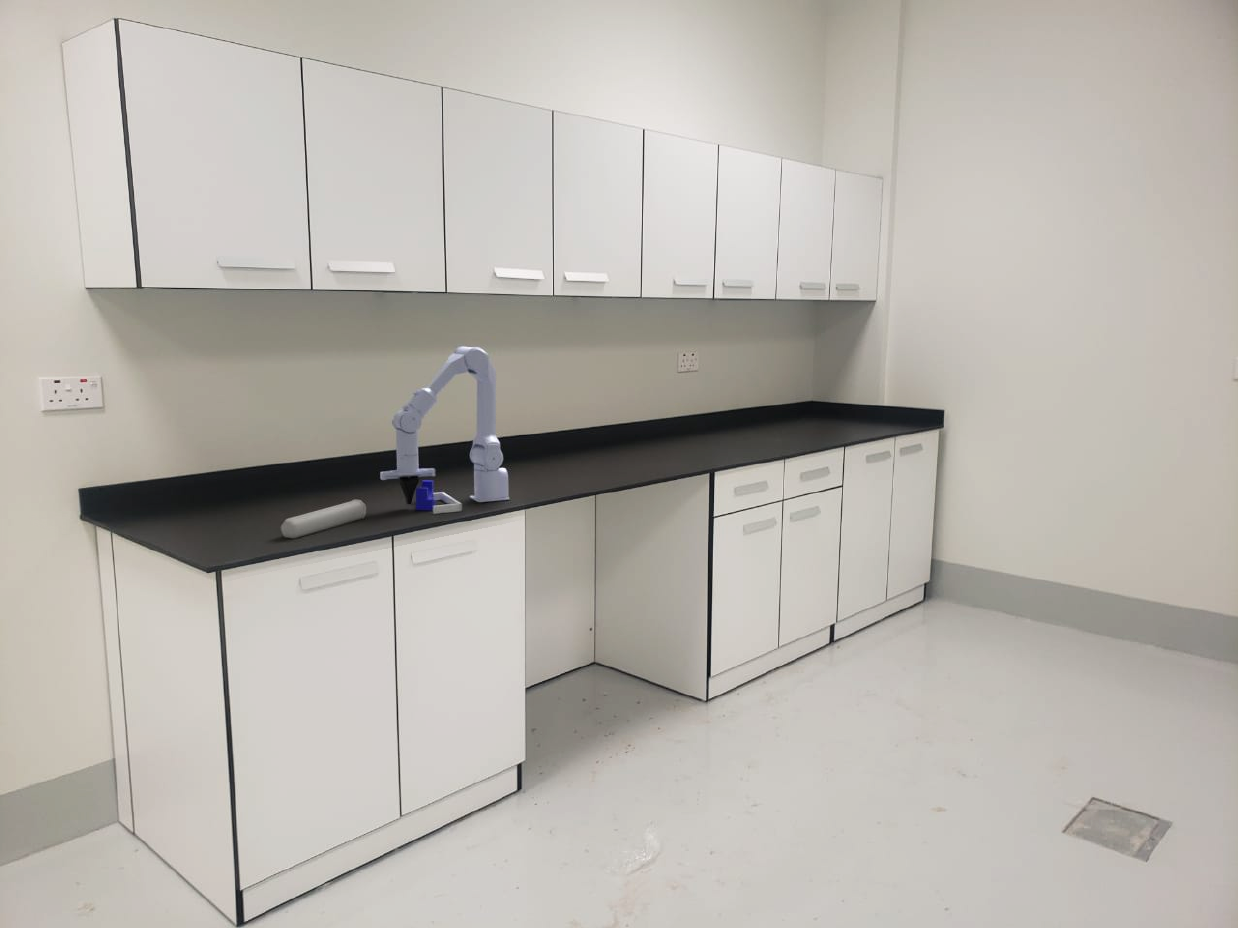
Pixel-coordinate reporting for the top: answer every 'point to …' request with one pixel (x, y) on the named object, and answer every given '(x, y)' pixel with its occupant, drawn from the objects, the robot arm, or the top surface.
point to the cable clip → (425, 496)
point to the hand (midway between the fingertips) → (408, 503)
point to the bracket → (451, 503)
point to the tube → (323, 519)
